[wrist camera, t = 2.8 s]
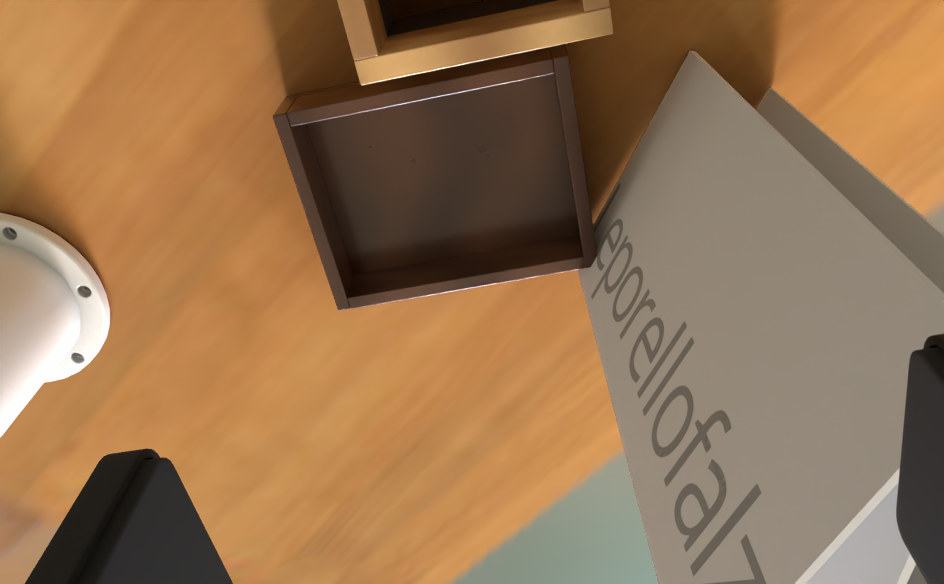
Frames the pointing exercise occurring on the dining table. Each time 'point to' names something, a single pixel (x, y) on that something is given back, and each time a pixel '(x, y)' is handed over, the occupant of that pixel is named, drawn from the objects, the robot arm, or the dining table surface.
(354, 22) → the frame top
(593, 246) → the holder
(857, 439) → the brochure
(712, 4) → the dining table surface
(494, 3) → the frame low
